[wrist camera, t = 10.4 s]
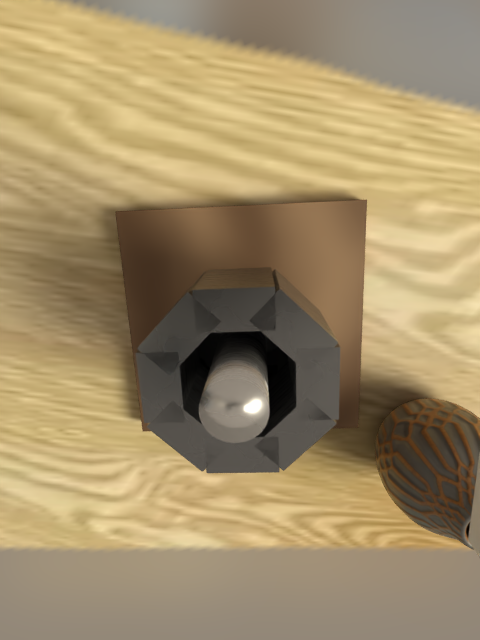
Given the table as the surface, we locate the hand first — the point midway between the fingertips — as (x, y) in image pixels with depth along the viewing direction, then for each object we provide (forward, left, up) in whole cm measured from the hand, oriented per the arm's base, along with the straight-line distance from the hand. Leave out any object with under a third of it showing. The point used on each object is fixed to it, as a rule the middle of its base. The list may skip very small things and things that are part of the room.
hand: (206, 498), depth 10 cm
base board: (0, 0, -16) cm, 16 cm away
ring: (0, 0, -12) cm, 12 cm away
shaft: (0, 0, -15) cm, 15 cm away
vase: (+12, -8, -16) cm, 22 cm away
